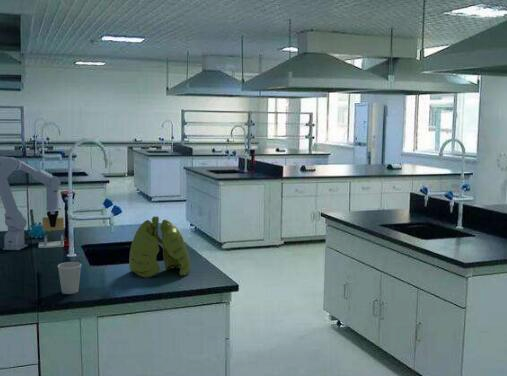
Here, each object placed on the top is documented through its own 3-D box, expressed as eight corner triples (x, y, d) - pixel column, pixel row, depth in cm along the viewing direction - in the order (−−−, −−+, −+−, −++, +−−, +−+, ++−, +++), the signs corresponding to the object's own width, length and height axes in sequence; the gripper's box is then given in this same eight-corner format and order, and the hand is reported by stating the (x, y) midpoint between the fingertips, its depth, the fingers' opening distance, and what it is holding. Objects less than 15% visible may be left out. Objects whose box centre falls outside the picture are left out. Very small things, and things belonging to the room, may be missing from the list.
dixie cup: (67, 287, 207) (66, 260, 206) (86, 289, 205) (86, 263, 204) (53, 293, 200) (52, 266, 198) (73, 296, 197) (72, 268, 196)
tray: (68, 242, 281) (68, 234, 280) (69, 246, 272) (69, 238, 271) (38, 243, 276) (38, 235, 276) (38, 248, 267) (38, 240, 266)
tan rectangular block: (63, 228, 285) (63, 216, 284) (63, 229, 281) (63, 218, 280) (42, 229, 282) (42, 217, 281) (42, 230, 278) (42, 218, 277)
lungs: (130, 279, 219) (129, 219, 216) (128, 269, 234) (128, 212, 231) (193, 276, 225) (193, 218, 222) (187, 266, 240) (188, 211, 237)
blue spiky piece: (25, 236, 285) (30, 220, 291) (26, 242, 289) (30, 226, 296) (48, 238, 287) (52, 223, 293) (48, 244, 292) (52, 229, 298)
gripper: (61, 201, 274) (61, 228, 276) (60, 197, 288) (61, 223, 289) (45, 201, 272) (46, 229, 273) (46, 197, 285) (46, 223, 287)
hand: (52, 226), depth 281 cm, fingers closed on tan rectangular block, 4 cm apart
